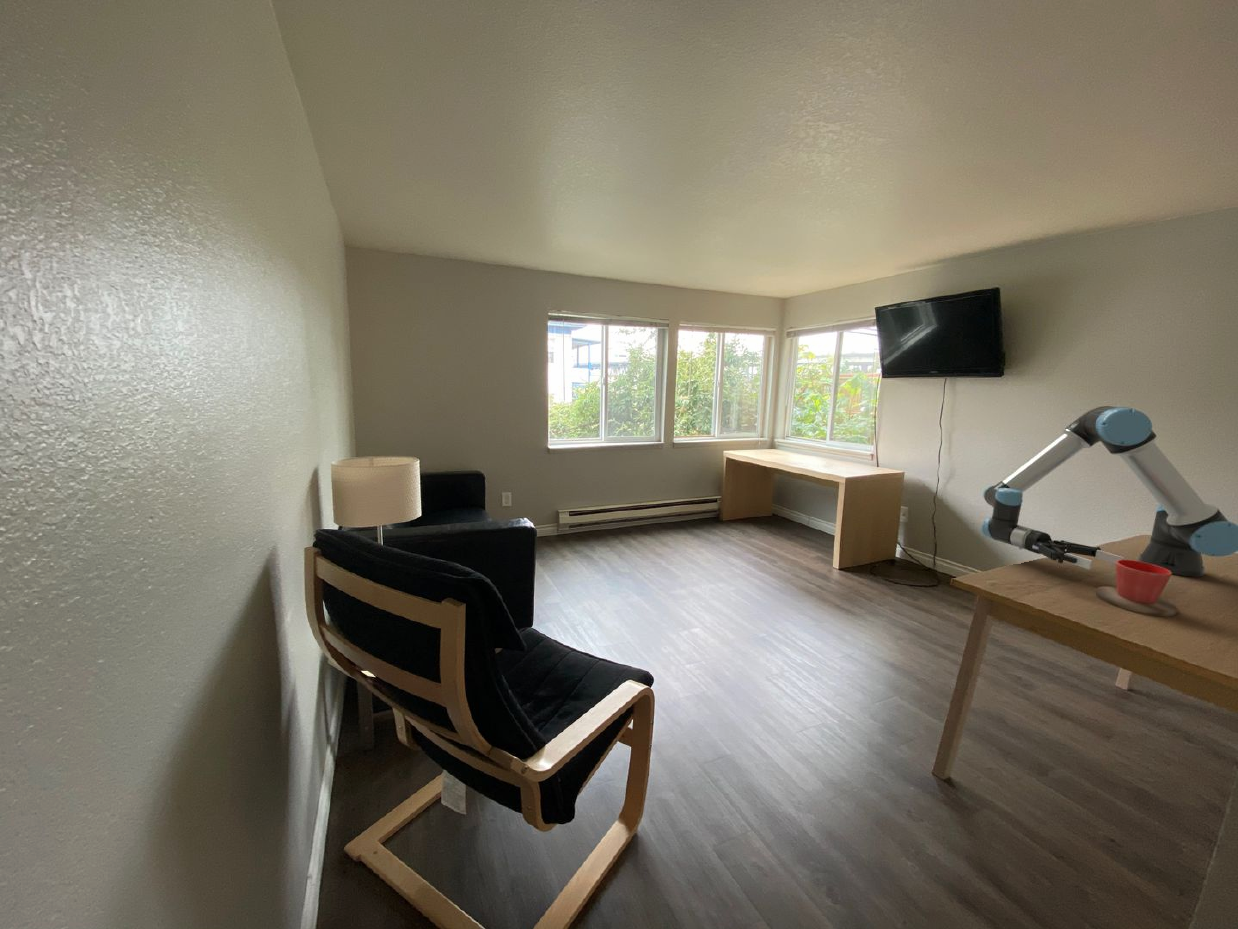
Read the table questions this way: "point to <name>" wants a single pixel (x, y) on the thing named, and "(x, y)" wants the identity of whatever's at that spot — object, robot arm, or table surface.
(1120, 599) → the brown plate
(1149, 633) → the table surface
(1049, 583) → the table surface
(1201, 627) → the table surface
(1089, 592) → the table surface
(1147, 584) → the flower pot
